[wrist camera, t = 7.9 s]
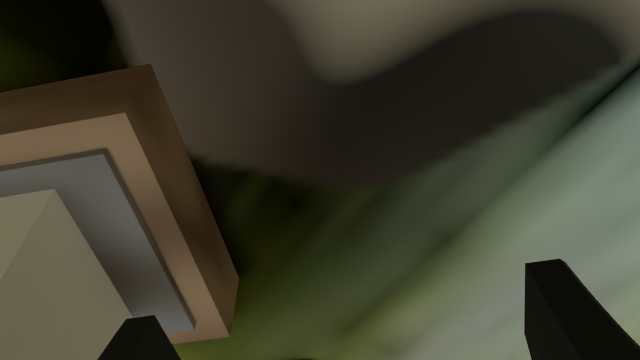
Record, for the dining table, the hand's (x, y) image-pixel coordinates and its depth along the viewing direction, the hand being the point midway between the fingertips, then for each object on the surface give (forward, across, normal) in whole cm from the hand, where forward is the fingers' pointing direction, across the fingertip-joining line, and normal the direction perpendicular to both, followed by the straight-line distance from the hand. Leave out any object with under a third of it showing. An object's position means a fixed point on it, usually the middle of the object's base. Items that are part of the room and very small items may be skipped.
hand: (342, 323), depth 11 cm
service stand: (+9, +10, +3) cm, 14 cm away
